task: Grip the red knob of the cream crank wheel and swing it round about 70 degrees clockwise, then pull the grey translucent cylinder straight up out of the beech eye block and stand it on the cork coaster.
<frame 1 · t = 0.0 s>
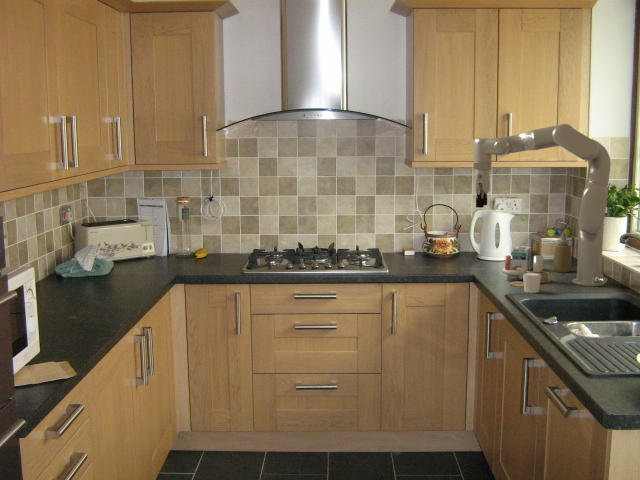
hand: (481, 206, 313), 31 cm above the countertop, tool pointing down, fingers open, 9 cm apart
white cup: (531, 291, 287), on the countertop
wheel post: (513, 280, 309), on the countertop
coaster: (521, 284, 299), on the countertop
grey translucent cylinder: (537, 268, 305), in the eye block
squeeze bottle: (562, 272, 327), on the countertop
light bulb box: (521, 270, 331), on the countertop
eye block: (537, 281, 306), on the countertop
crank wheel: (513, 264, 308), point 7 cm above the countertop, hinge at 0.0°
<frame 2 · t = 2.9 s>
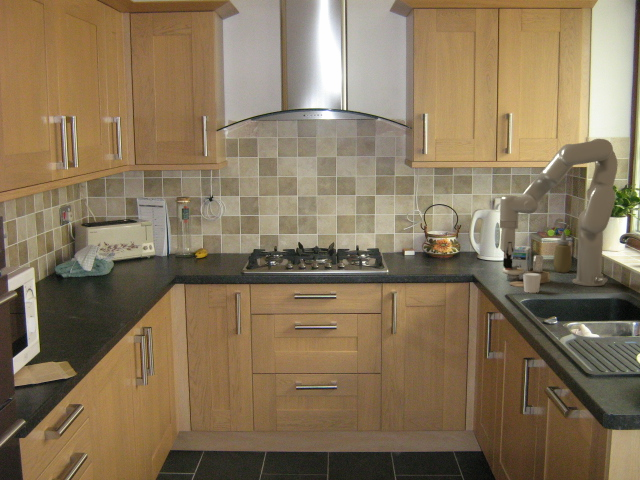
hand: (507, 267, 307), 6 cm above the countertop, tool pointing down, fingers closed on crank wheel, 2 cm apart
crank wheel: (513, 264, 308), point 7 cm above the countertop, hinge at -0.3°, touching gripper
everything else where it was.
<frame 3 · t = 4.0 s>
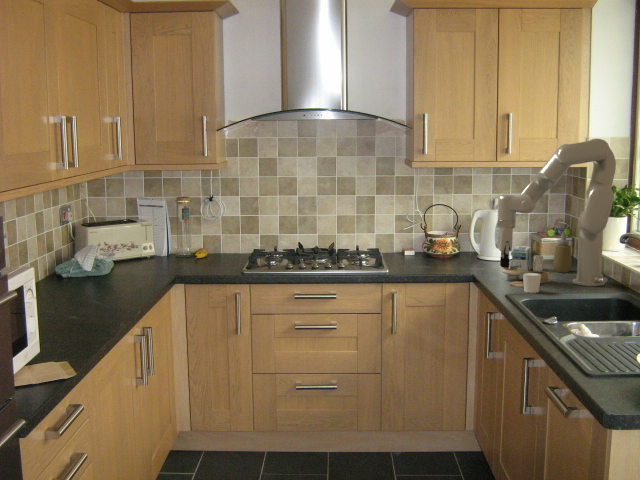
hand: (504, 266, 308), 6 cm above the countertop, tool pointing down, fingers closed on crank wheel, 2 cm apart
crank wheel: (513, 264, 308), point 7 cm above the countertop, hinge at -28.2°, touching gripper
everything else where it was.
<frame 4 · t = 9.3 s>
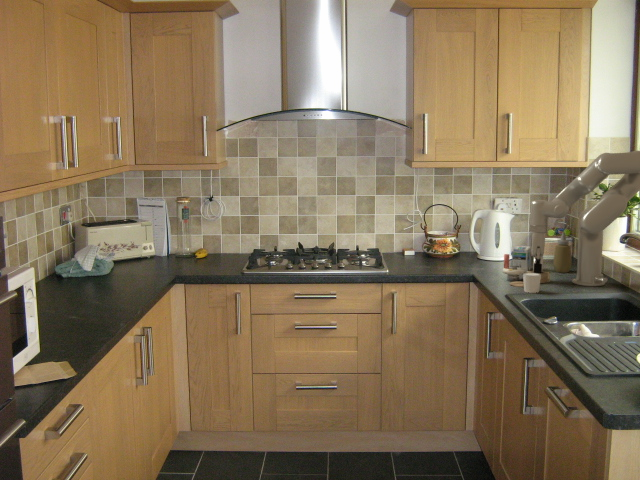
hand: (537, 271, 306), 4 cm above the countertop, tool pointing down, fingers closed on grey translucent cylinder, 3 cm apart
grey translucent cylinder: (537, 268, 305), in the eye block, touching gripper
crank wheel: (513, 264, 308), point 7 cm above the countertop, hinge at -66.3°
everything else where it was.
when the fingers open (6 cm above the countertop, at t = 13.8 s): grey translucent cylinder moves 1 cm, resting on coaster.
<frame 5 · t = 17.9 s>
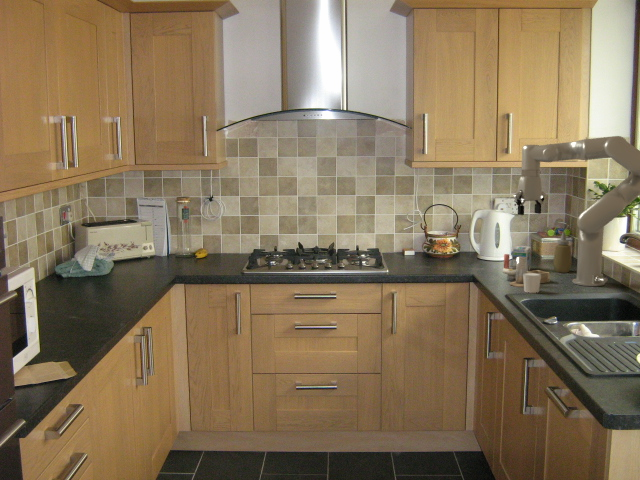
hand: (529, 214, 307), 28 cm above the countertop, tool pointing down, fingers open, 9 cm apart
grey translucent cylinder: (520, 270, 299), on the coaster, point 6 cm above the countertop
everything else where it was.
at the end: crank wheel at -66° (first picture: +0°); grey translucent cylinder inside the target area on the coaster (0.9 cm from its centre), point 6.1 cm above the coaster's base; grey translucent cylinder tilted 0° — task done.
